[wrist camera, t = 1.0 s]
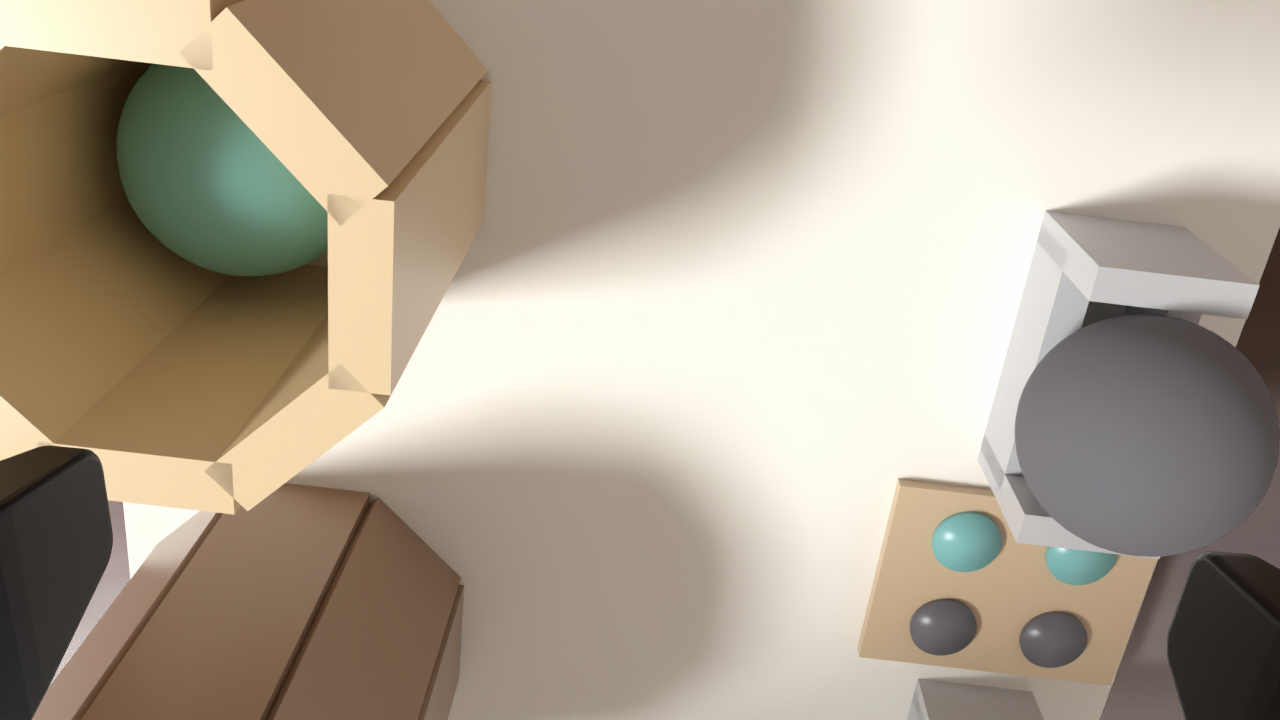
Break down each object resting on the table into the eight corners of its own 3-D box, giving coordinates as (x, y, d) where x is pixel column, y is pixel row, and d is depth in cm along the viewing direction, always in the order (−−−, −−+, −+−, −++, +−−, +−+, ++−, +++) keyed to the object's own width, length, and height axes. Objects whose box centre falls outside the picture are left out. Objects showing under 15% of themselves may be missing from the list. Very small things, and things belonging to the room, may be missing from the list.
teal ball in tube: (393, 244, 22) (333, 326, 18) (183, 220, 21) (81, 297, 18) (397, 30, 20) (333, 72, 16) (170, 3, 20) (54, 38, 16)
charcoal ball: (1175, 488, 21) (1275, 620, 18) (966, 464, 21) (1024, 592, 18) (1246, 293, 20) (1372, 395, 16) (1020, 266, 20) (1095, 362, 16)
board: (1035, 858, 28) (1154, 1208, 21) (160, 760, 28) (-24, 1082, 21) (1346, -11, 20) (1736, 76, 12) (76, -165, 19) (-292, -168, 12)
